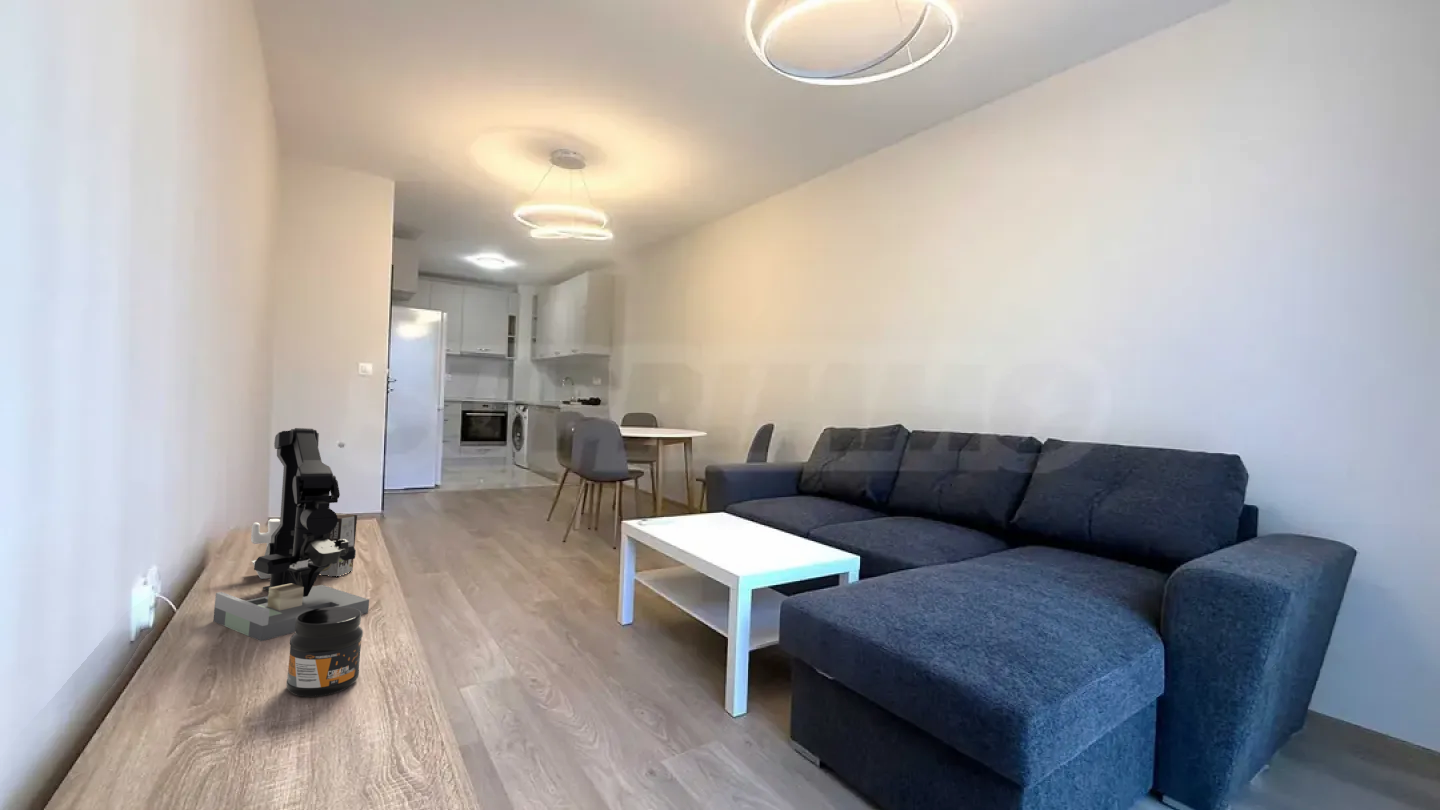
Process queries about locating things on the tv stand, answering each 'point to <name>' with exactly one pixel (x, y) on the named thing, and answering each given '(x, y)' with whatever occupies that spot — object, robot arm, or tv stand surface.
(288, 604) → the maple block
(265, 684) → the tv stand surface
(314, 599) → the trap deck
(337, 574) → the coffee box
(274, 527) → the figurine
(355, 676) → the supplement container
